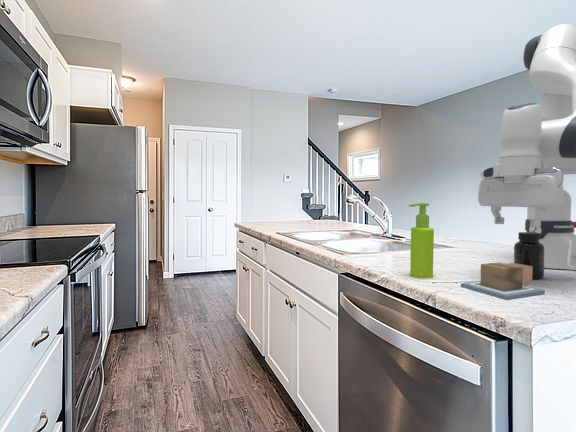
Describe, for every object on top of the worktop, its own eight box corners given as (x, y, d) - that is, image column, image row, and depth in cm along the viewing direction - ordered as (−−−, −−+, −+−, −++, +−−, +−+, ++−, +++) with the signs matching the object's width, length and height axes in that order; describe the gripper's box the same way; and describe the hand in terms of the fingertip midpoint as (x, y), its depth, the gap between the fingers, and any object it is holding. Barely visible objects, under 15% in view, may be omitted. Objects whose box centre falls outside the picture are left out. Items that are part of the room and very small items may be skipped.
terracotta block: (513, 279, 95) (513, 262, 95) (532, 284, 91) (532, 266, 90) (499, 281, 93) (500, 264, 93) (518, 286, 89) (518, 268, 88)
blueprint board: (496, 282, 92) (496, 278, 92) (544, 293, 81) (544, 289, 81) (460, 286, 88) (460, 282, 88) (506, 299, 77) (506, 295, 77)
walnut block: (498, 282, 89) (499, 262, 88) (522, 288, 83) (523, 266, 83) (480, 284, 86) (480, 264, 86) (503, 291, 81) (504, 268, 80)
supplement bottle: (531, 273, 102) (533, 231, 101) (550, 279, 95) (551, 233, 94) (507, 274, 101) (508, 231, 101) (524, 280, 94) (525, 234, 94)
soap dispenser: (402, 274, 101) (403, 203, 100) (422, 272, 104) (423, 202, 103) (417, 279, 96) (418, 203, 95) (437, 277, 98) (439, 203, 97)
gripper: (572, 167, 82) (569, 228, 82) (492, 172, 101) (490, 222, 101) (553, 165, 79) (550, 229, 80) (475, 172, 98) (473, 222, 99)
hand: (516, 225), depth 91 cm, fingers open, 8 cm apart
